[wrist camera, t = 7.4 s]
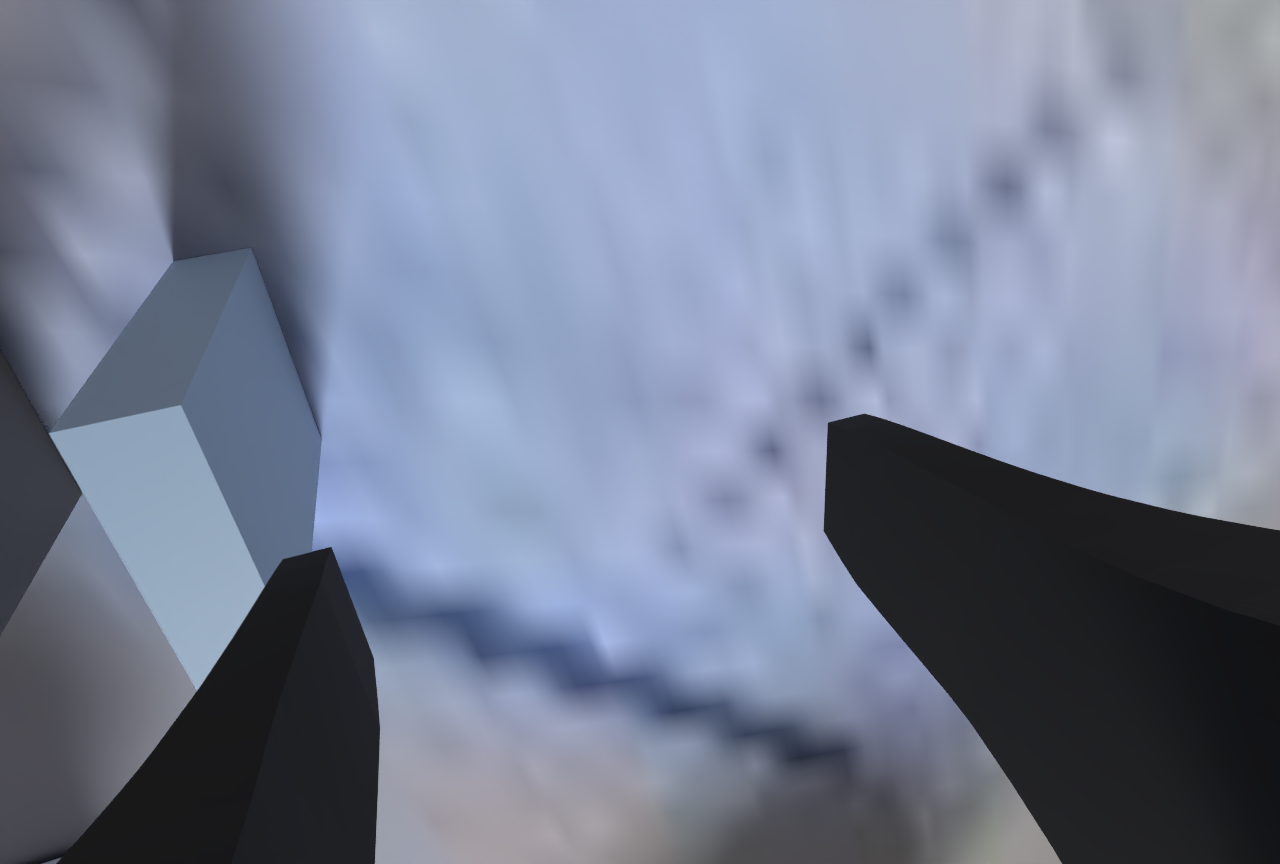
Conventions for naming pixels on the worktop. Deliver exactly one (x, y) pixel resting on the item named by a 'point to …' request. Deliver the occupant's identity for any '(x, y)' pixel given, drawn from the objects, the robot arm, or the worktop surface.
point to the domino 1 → (27, 492)
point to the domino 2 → (198, 451)
